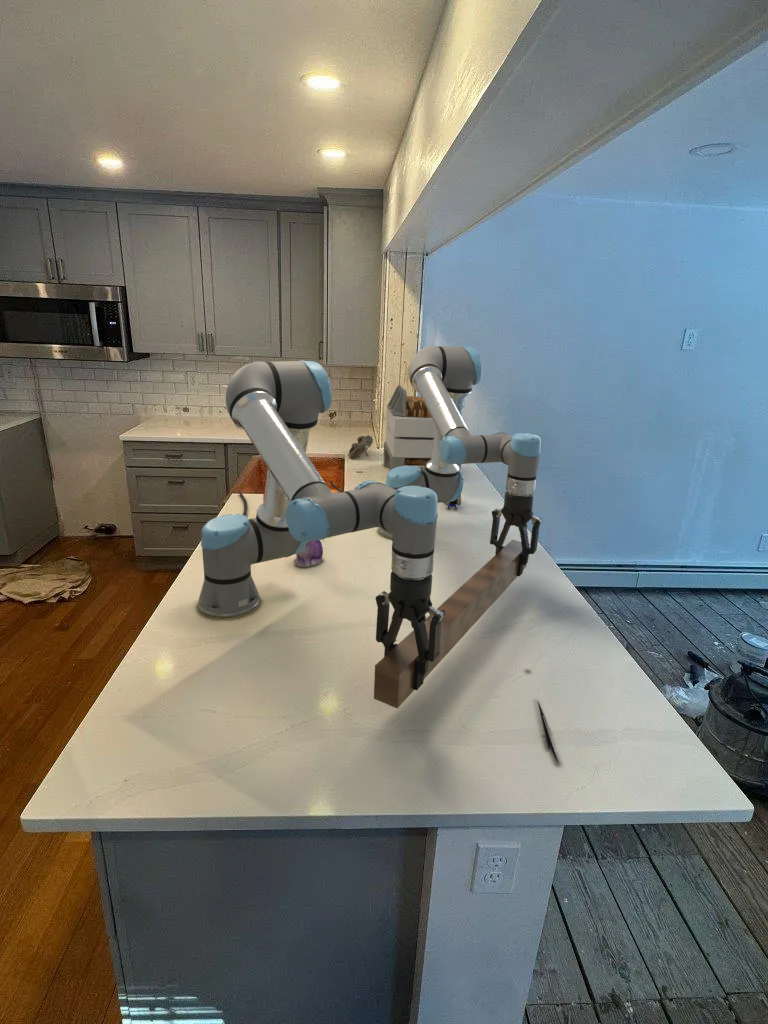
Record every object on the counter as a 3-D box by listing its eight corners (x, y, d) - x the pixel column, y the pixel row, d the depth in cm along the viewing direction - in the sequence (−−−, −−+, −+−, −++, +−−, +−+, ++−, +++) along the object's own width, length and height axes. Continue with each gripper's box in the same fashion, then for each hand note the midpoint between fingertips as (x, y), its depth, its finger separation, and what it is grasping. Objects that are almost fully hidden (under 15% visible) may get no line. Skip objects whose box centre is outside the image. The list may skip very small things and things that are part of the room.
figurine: (300, 570, 169) (299, 523, 164) (289, 557, 177) (288, 512, 172) (329, 565, 173) (330, 519, 168) (317, 552, 181) (317, 508, 176)
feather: (528, 675, 127) (534, 669, 126) (557, 767, 100) (564, 760, 99) (522, 671, 126) (527, 665, 126) (550, 762, 100) (557, 755, 99)
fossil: (348, 441, 313) (370, 426, 308) (359, 455, 316) (380, 440, 311) (342, 455, 293) (365, 439, 288) (353, 469, 296) (376, 454, 291)
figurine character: (461, 514, 225) (456, 498, 239) (463, 497, 222) (458, 482, 235) (444, 513, 225) (440, 498, 239) (446, 496, 222) (442, 481, 235)
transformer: (382, 463, 289) (386, 382, 275) (445, 464, 293) (451, 384, 279) (390, 482, 257) (394, 392, 243) (460, 483, 261) (468, 394, 247)
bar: (509, 562, 166) (512, 539, 163) (526, 567, 163) (529, 543, 161) (373, 698, 105) (374, 665, 103) (397, 709, 103) (399, 674, 100)
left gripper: (358, 566, 103) (355, 674, 111) (448, 594, 95) (438, 709, 102) (379, 553, 109) (375, 656, 117) (466, 578, 101) (455, 687, 108)
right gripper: (482, 489, 152) (474, 568, 160) (549, 503, 143) (537, 585, 151) (492, 483, 158) (484, 559, 166) (557, 495, 149) (545, 575, 157)
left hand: (404, 680), depth 110 cm, fingers closed on bar, 5 cm apart
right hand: (509, 571), depth 158 cm, fingers closed on bar, 5 cm apart
